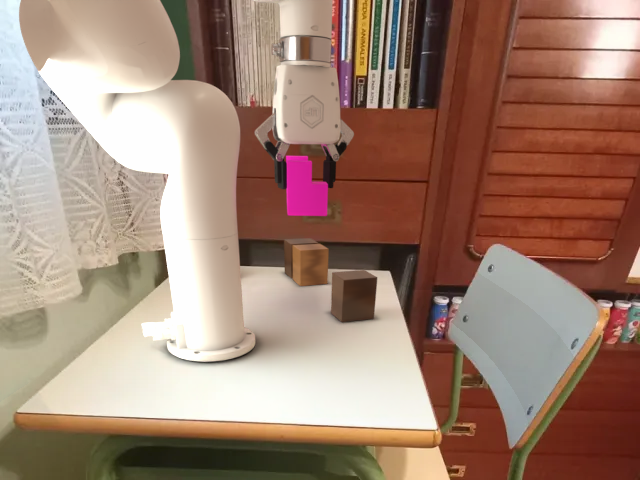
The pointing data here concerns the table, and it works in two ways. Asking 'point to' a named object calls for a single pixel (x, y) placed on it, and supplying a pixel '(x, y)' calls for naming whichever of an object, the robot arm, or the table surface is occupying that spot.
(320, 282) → the block
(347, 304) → the line block
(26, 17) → the robot arm
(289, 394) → the table surface
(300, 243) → the line block
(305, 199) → the toy block
